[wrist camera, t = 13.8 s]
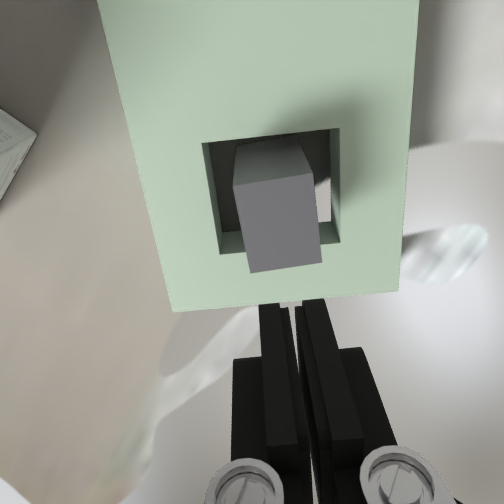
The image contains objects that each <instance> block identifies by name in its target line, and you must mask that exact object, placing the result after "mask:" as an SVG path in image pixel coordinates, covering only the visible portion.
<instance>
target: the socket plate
mask: <svg viewBox="0 0 504 504" xmlns="http://www.w3.org/2000/svg"><path fill="white" fill-rule="evenodd" d="M97 3H98V7H99V12H100V16H101V20H102V24H103V28H104V32H105V36H106V40H107V44H108V48H109V53H110V57H111V61H112V65H113V69H114V73H115V77H116V81H117V85H118V90H119V94H120V98H121V102H122V106H123V110H124V114H125V118H126V122H127V126H128V131H129V135H130V139H131V143H132V147H133V151H134V155H135V159H136V163H137V167H138V172H139V176H140V180H141V184H142V188H143V192H144V196H145V200H146V204H147V209H148V213H149V217H150V221H151V225H152V229H153V233H154V237H155V241H156V245H157V250H158V254H159V258H160V262H161V266H162V270H163V274H164V278H165V282H166V287H167V291H168V295H169V299H170V303H171V307H172V311H173V312H183V311H193V310H204V309H213V308H214V309H215V308H225V307H236V306H247V305H257V304H268V303H279V302H289V301H300V300H310V299H320V298H332V297H343V296H353V295H364V294H375V293H385V292H396V291H398V288H399V274H400V260H401V246H402V233H403V218H404V205H405V190H406V177H407V164H408V150H409V136H410V122H411V108H412V95H413V81H414V67H415V53H416V39H417V26H418V12H419V0H97ZM324 129H330V176H331V221H330V222H321V223H318V226H319V236H320V245H321V255H322V263H317V264H310V265H304V266H297V267H290V268H284V269H277V270H271V271H264V272H258V273H251V274H250V270H249V265H248V260H247V255H246V250H245V245H244V240H243V235H242V230H241V231H231V232H222V227H221V221H220V214H219V208H218V202H217V195H216V189H215V182H214V176H213V169H212V163H211V157H210V150H209V144H208V142H215V141H224V140H233V139H242V138H251V137H260V136H269V135H278V134H287V133H296V132H305V131H314V130H324Z"/></svg>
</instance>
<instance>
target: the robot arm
mask: <svg viewBox="0 0 504 504" xmlns="http://www.w3.org/2000/svg"><path fill="white" fill-rule="evenodd" d="M295 321H296V335H297V350H298V364H299V371H298V366H297V359H296V353H295V346H294V340H293V334H292V328H291V321H290V315H289V309H288V307H286V308H280V304H279V303H270V304H259V322H260V339H261V353H262V356H261V357H250V358H240V359H234V360H233V384H232V386H233V387H232V388H233V389H232V390H233V391H232V431H231V462H230V463H227V464H226V465H225V466H223V467H222V468H221V469H219V470H218V471H217V473H216V474H215V476H214V477H213V478H212V479H211V481H210V484H209V486H208V489H207V492H206V496H205V500H204V504H313V492H312V474H311V459H312V466H313V472H314V478H315V485H316V491H317V497H318V504H462V503H461V502H459V501H458V500H456V499H455V498H453V496H452V495H451V493H450V491H449V490H448V488H447V486H446V485H445V483H444V481H443V480H442V478H441V476H440V475H439V473H438V471H437V470H436V469H435V468H434V466H433V465H432V464H431V463H430V461H428V460H427V459H426V458H425V457H423V456H422V455H421V454H419V453H417V452H415V451H413V450H411V449H409V448H406V447H401V446H398V445H397V442H396V439H395V437H394V434H393V431H392V429H391V425H390V423H389V420H388V417H387V414H386V412H385V409H384V406H383V403H382V400H381V398H380V395H379V392H378V390H377V387H376V384H375V381H374V378H373V376H372V373H371V370H370V367H369V364H368V362H367V359H366V356H365V354H364V351H363V349H362V348H361V347H355V348H345V349H338V345H337V341H336V338H335V335H334V331H333V328H332V324H331V321H330V317H329V314H328V310H327V307H326V303H325V300H324V298H320V299H310V300H302V306H297V307H295ZM310 453H311V457H310Z"/></svg>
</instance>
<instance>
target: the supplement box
mask: <svg viewBox="0 0 504 504" xmlns="http://www.w3.org/2000/svg"><path fill="white" fill-rule="evenodd" d="M36 136H37V134H36V133H35V132H34V131H32V130H31V129H29V128H28V127H26V126H25V125H23V124H22V123H21V122H19V121H18V120H16V119H15V118H13V117H12V116H10V115H9V114H7V113H6V112H4V111H3V110H2V109H0V200H1V199H2V197H3V195H4V193H5V191H6V190H7V188H8V186H9V185H10V183H11V181H12V179H13V177H14V176H15V174H16V172H17V170H18V168H19V167H20V165H21V163H22V161H23V160H24V158H25V156H26V154H27V152H28V150H29V149H30V147H31V145H32V144H33V142H34V140H35V138H36Z"/></svg>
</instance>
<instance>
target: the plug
mask: <svg viewBox="0 0 504 504" xmlns="http://www.w3.org/2000/svg"><path fill="white" fill-rule="evenodd" d="M233 191H234V196H235V201H236V206H237V211H238V216H239V221H240V225H241V230H242V235H243V240H244V245H245V250H246V255H247V260H248V265H249V270H250V274H251V273H258V272H264V271H271V270H277V269H284V268H290V267H297V266H304V265H310V264H317V263H322V255H321V245H320V236H319V226H318V217H317V207H316V198H315V188H314V179H313V172H312V170H311V168H310V165H309V163H308V161H307V159H306V156H305V154H304V152H303V150H302V147H301V145H300V143H299V141H298V138H297V136H296V135H295V136H289V137H283V138H277V139H272V140H266V141H260V142H254V143H249V144H243V145H237V146H236V154H235V165H234V176H233Z"/></svg>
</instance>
